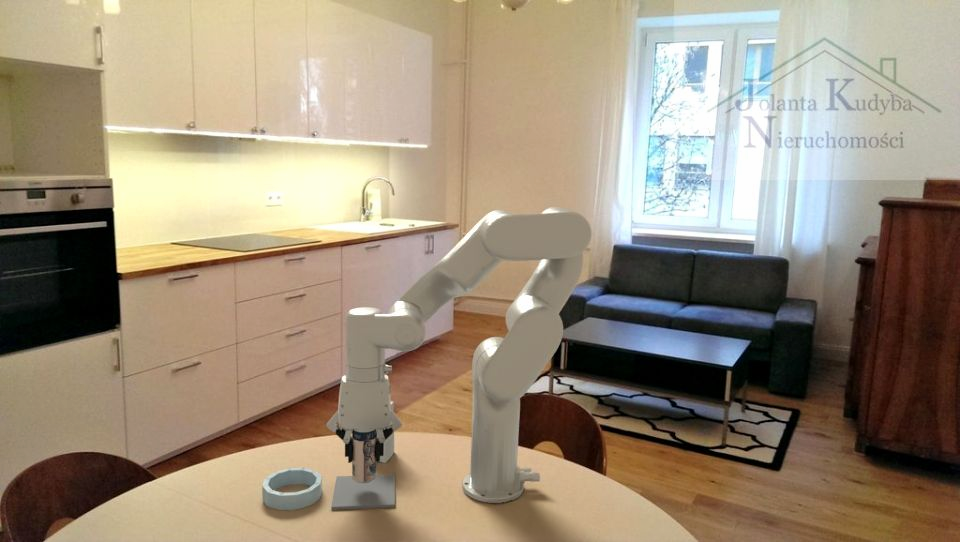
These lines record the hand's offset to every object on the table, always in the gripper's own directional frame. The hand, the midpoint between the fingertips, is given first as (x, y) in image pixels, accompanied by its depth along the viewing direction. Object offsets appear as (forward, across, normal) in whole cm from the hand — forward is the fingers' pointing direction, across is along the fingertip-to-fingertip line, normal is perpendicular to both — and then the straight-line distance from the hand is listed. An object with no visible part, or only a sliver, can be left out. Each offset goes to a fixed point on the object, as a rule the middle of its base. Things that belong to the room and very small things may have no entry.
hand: (364, 458), depth 131 cm
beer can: (+5, 0, 0) cm, 5 cm away
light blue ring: (+7, +14, 0) cm, 16 cm away
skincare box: (+8, -3, -16) cm, 18 cm away
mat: (+7, 0, 0) cm, 7 cm away
